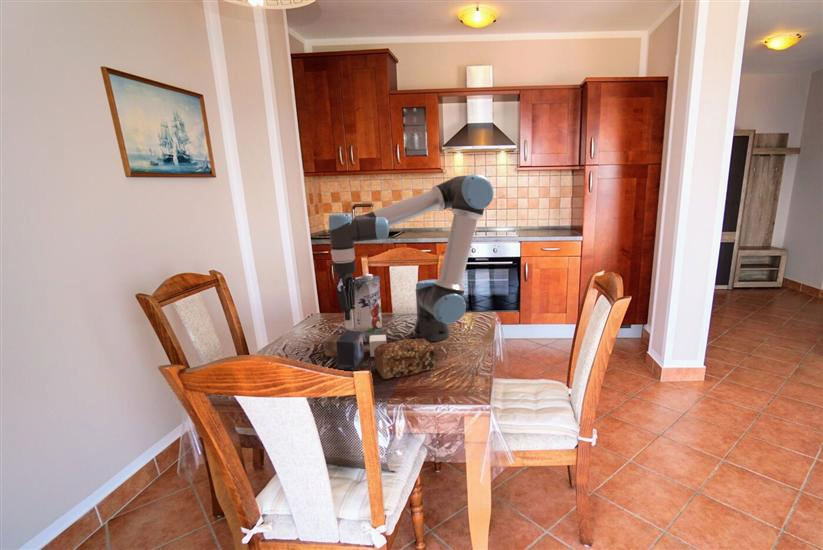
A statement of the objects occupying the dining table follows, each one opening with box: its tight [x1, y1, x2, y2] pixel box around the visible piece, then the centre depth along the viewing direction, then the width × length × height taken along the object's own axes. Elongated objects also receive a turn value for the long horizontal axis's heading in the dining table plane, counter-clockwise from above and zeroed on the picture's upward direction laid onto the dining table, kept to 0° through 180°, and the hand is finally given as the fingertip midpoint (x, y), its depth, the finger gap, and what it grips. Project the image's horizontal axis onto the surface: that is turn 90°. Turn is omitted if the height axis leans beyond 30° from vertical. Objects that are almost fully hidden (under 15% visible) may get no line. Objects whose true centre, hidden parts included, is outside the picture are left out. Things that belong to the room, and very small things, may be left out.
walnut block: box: [323, 334, 342, 358], centre depth 147 cm, size 6×6×6 cm
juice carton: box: [353, 273, 383, 344], centre depth 158 cm, size 9×10×27 cm
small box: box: [336, 330, 365, 371], centre depth 137 cm, size 11×6×10 cm, turn 169°
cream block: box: [368, 334, 387, 358], centre depth 146 cm, size 6×6×6 cm
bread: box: [374, 338, 436, 380], centre depth 132 cm, size 19×11×10 cm, turn 111°
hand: (349, 327), depth 135 cm, fingers closed
